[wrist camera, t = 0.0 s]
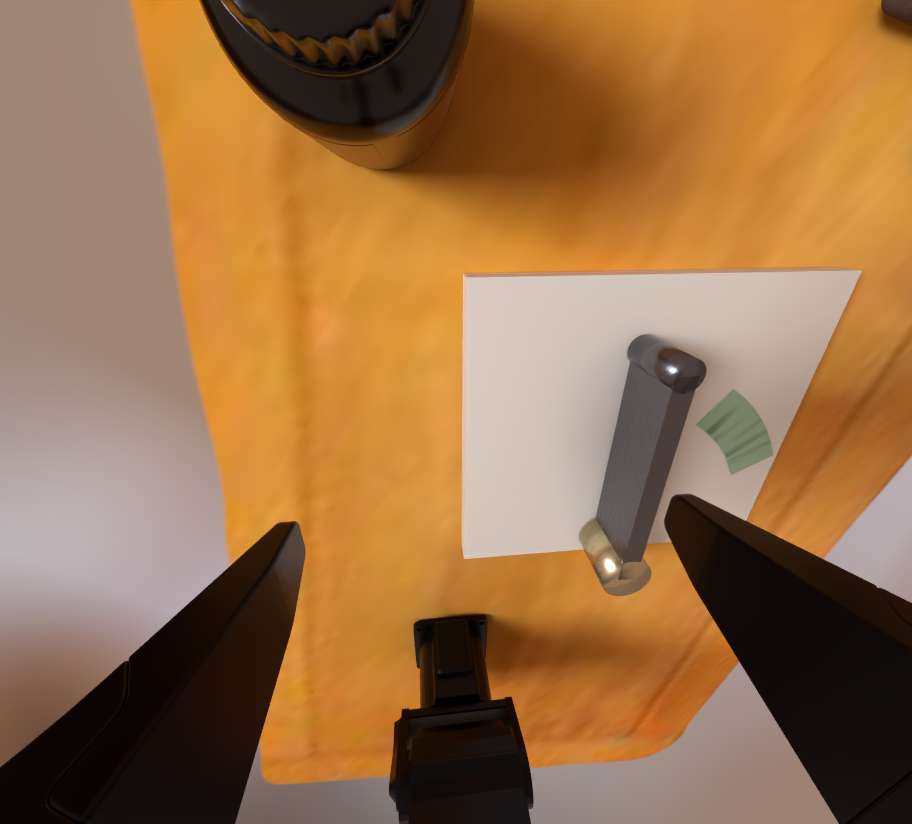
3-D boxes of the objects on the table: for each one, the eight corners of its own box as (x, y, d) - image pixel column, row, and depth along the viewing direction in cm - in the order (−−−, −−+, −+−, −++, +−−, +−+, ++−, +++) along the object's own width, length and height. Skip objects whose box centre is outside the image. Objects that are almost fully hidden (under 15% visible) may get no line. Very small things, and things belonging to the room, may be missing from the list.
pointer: (616, 547, 29) (644, 593, 25) (575, 550, 29) (598, 598, 25) (673, 333, 21) (725, 357, 18) (618, 335, 21) (660, 359, 17)
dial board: (725, 523, 32) (739, 537, 30) (461, 543, 30) (464, 560, 28) (835, 267, 22) (864, 270, 21) (463, 273, 20) (466, 277, 19)
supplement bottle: (358, -89, 14) (195, -986, 4) (483, 81, 17) (601, -144, 6) (255, 76, 16) (-54, -192, 5) (382, 206, 19) (340, 197, 8)
